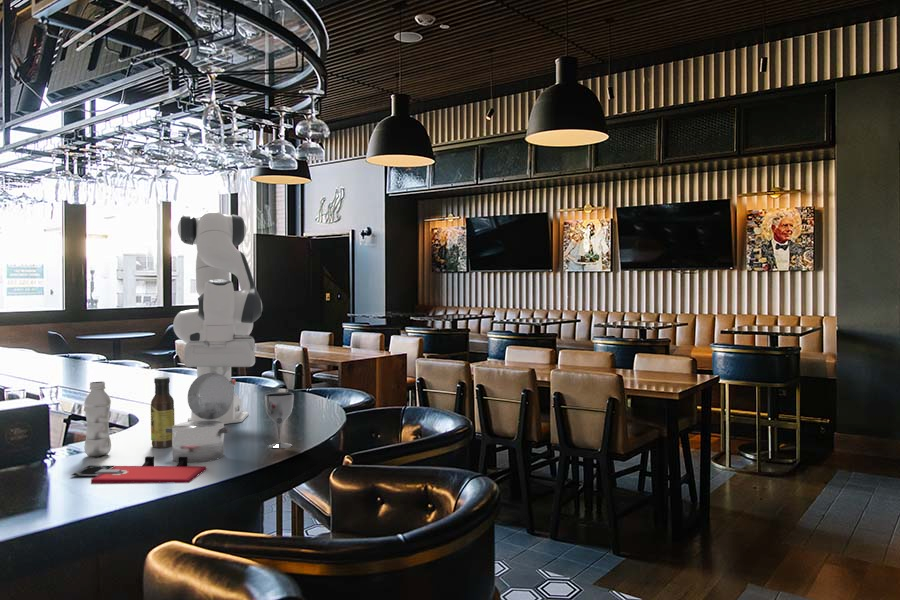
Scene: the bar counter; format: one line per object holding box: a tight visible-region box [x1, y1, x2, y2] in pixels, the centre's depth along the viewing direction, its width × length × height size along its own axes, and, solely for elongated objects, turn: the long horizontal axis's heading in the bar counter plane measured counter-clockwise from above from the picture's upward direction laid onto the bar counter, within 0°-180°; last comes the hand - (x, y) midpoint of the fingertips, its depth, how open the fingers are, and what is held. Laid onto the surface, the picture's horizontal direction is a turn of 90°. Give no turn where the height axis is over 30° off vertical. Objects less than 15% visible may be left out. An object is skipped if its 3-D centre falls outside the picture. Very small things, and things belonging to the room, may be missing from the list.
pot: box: [166, 421, 232, 464], centre depth 177 cm, size 14×17×8 cm
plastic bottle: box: [84, 381, 112, 457], centre depth 178 cm, size 6×7×20 cm
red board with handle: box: [71, 455, 207, 484], centre depth 159 cm, size 30×3×15 cm
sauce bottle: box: [150, 376, 176, 449], centre depth 189 cm, size 6×6×20 cm
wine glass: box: [264, 391, 295, 449], centre depth 188 cm, size 8×8×15 cm
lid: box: [187, 373, 235, 420], centre depth 185 cm, size 13×13×3 cm
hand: (219, 382), depth 190 cm, fingers closed
